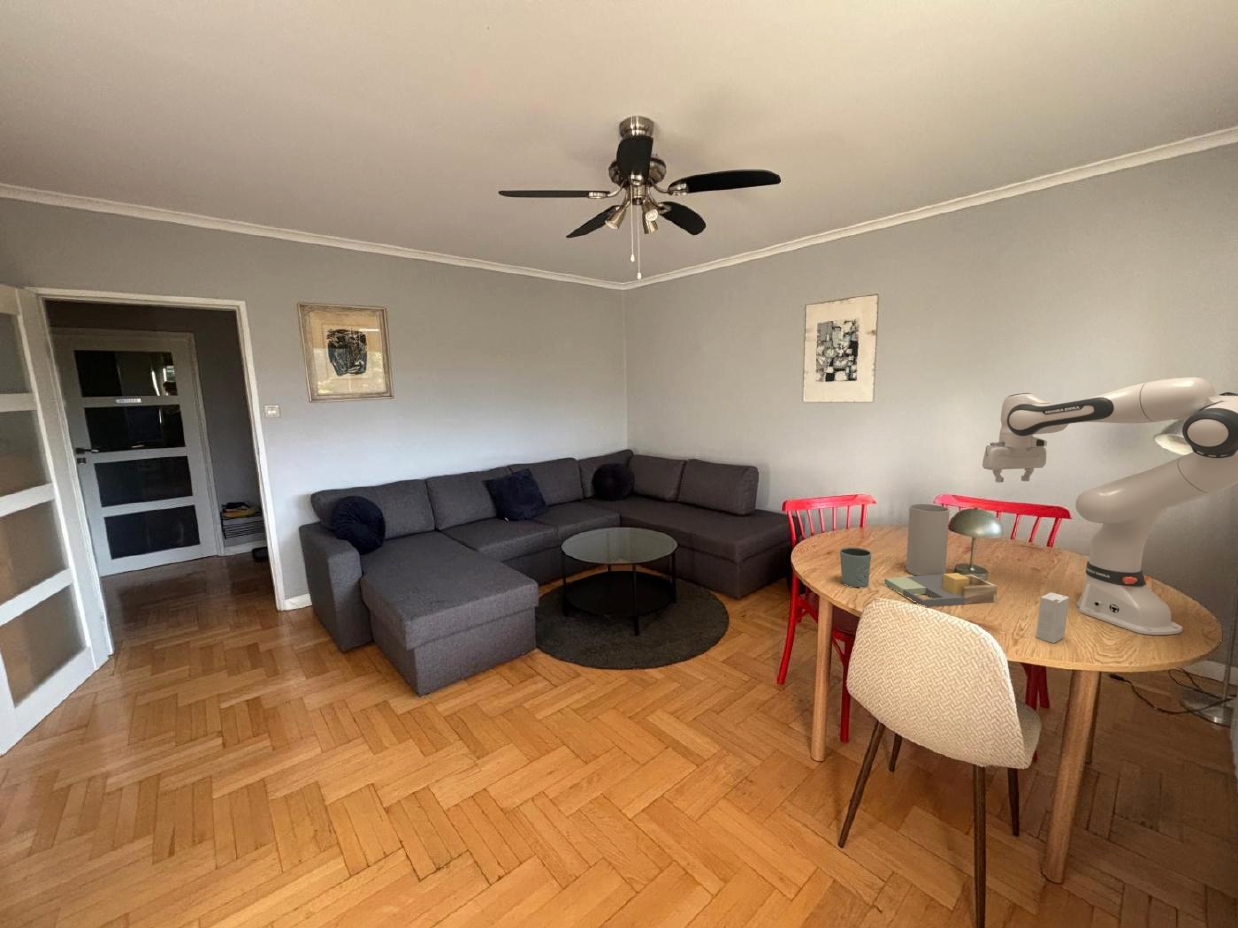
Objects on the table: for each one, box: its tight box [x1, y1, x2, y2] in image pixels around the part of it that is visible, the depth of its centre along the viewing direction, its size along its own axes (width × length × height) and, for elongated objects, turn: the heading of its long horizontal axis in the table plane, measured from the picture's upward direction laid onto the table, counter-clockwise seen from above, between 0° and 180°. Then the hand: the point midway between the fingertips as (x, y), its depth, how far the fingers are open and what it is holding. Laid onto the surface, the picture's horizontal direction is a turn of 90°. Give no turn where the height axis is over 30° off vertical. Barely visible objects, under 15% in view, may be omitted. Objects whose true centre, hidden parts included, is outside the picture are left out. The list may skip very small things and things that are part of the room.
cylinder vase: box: [905, 503, 950, 576], centre depth 183 cm, size 12×12×25 cm
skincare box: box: [1035, 592, 1070, 644], centre depth 135 cm, size 6×4×12 cm
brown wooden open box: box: [942, 573, 998, 605], centre depth 163 cm, size 10×11×5 cm
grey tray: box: [884, 574, 997, 608], centre depth 167 cm, size 19×26×2 cm
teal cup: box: [839, 546, 872, 588], centre depth 177 cm, size 10×10×12 cm
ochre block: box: [943, 572, 969, 594], centre depth 163 cm, size 5×5×5 cm
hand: (1012, 481), depth 169 cm, fingers open, 8 cm apart
